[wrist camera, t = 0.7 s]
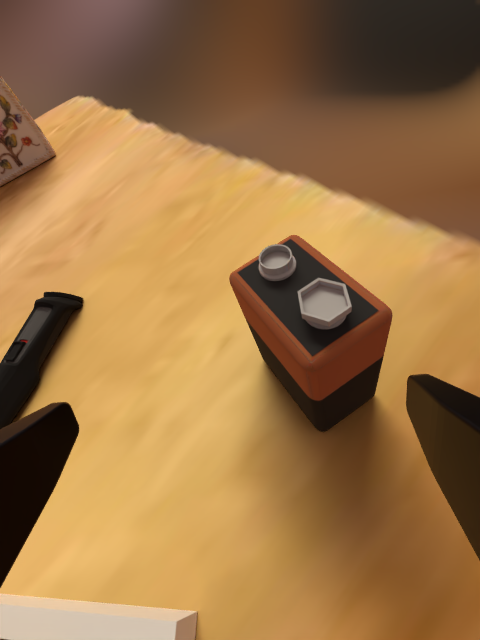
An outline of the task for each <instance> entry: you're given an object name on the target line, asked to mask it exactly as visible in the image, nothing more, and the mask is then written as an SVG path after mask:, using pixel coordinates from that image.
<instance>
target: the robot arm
mask: <svg viewBox="0 0 480 640" xmlns="http://www.w3.org/2000/svg"><path fill="white" fill-rule="evenodd" d="M406 407H407V412H408V415H409V417H410V420H411V422H412V424H413V427H414V429H415V432H416V434H417V437H418V439H419V442H420V444H421V447H422V449H423V452H424V454H425V456H426V459H427V461H428V464H429V466H430V468H431V471H432V473H433V475H434V477H435V479H436V481H437V483H438V484H439V486H440V488H441V490H442V492H443V494H444V496H445V497H446V499H447V501H448V503H449V505H450V507H451V508H452V510H453V512H454V514H455V516H456V518H457V520H458V521H459V523H460V525H461V527H462V529H463V531H464V532H465V534H466V536H467V538H468V540H469V542H470V544H471V545H472V547H473V549H474V551H475V553H476V555H477V556H478V558H479V560H480V397H478V396H475V395H473V394H471V393H469V392H466V391H464V390H462V389H460V388H458V387H455V386H453V385H451V384H449V383H447V382H444V381H442V380H440V379H438V378H435V377H433V376H431V375H429V374H418V375H410V376H409V377H408V380H407V397H406ZM78 434H79V425H78V422H77V420H76V417H75V415H74V413H73V410H72V408H71V406H70V405H69V404H68V403H66V402H59V403H52V404H49V405H47V406H45V407H44V408H42V409H40V410H38V411H36V412H34V413H32V414H30V415H28V416H26V417H24V418H22V419H20V420H18V421H16V422H14V423H12V424H10V425H8V426H6V427H4V428H2V429H0V588H1V586H2V584H3V582H4V581H5V579H6V577H7V575H8V573H9V571H10V570H11V568H12V566H13V564H14V562H15V560H16V558H17V557H18V555H19V553H20V551H21V549H22V547H23V546H24V544H25V542H26V540H27V538H28V536H29V535H30V533H31V531H32V529H33V527H34V525H35V524H36V522H37V520H38V518H39V516H40V514H41V512H42V511H43V509H44V507H45V505H46V503H47V501H48V500H49V498H50V496H51V494H52V492H53V490H54V488H55V486H56V484H57V482H58V480H59V478H60V475H61V473H62V471H63V468H64V466H65V464H66V461H67V459H68V457H69V455H70V452H71V450H72V448H73V445H74V443H75V441H76V439H77V436H78Z"/></svg>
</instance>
